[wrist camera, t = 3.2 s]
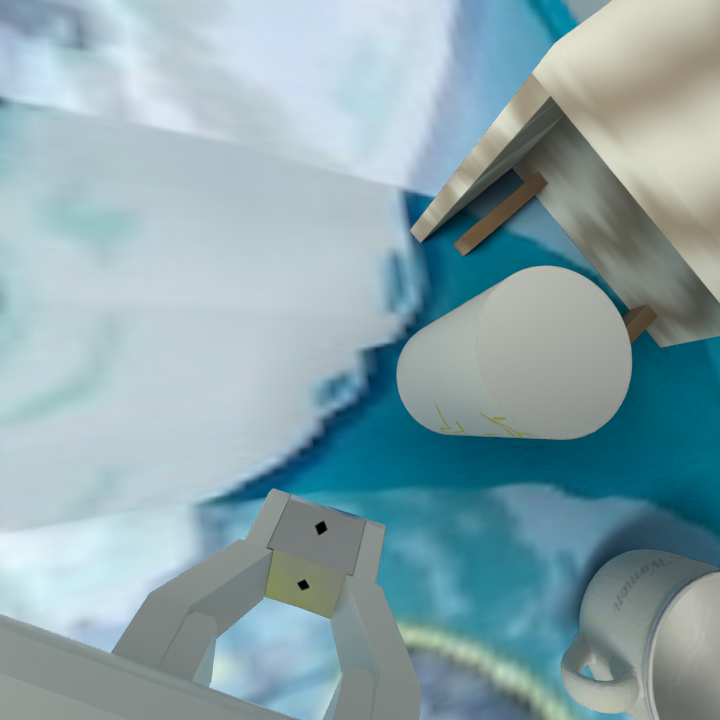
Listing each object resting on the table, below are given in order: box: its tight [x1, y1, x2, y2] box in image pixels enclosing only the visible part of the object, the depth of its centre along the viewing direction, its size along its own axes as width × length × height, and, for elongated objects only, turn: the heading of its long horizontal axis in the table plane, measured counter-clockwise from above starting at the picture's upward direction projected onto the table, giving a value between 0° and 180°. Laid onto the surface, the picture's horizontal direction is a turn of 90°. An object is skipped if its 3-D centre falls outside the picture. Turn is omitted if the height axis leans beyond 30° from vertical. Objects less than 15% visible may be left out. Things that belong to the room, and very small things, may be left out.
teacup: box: [561, 549, 720, 720], centre depth 29 cm, size 14×11×8 cm
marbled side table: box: [410, 0, 720, 348], centre depth 27 cm, size 20×12×17 cm, turn 42°
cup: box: [397, 266, 632, 440], centre depth 27 cm, size 8×8×12 cm
